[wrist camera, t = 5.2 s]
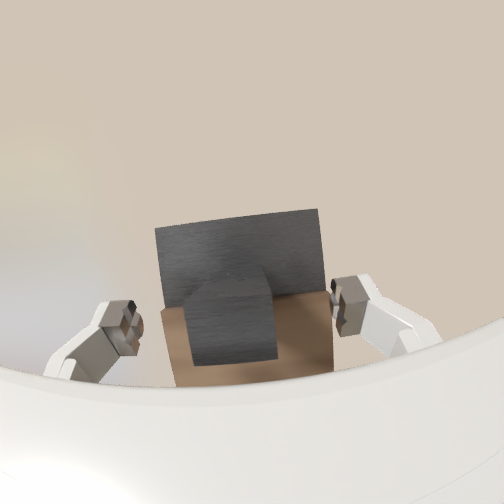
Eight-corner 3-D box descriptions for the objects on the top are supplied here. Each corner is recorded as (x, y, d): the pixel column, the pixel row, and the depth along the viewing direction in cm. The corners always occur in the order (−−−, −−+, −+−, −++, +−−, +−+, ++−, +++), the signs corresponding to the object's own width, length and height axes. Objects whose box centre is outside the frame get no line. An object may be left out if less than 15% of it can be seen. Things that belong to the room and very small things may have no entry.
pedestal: (325, 525, 17) (330, 293, 16) (228, 535, 17) (160, 311, 16) (316, 490, 23) (309, 279, 22) (231, 499, 23) (184, 293, 22)
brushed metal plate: (395, 336, 8) (382, 175, 7) (91, 364, 8) (66, 216, 8) (312, 281, 21) (305, 214, 20) (181, 296, 21) (172, 230, 21)
